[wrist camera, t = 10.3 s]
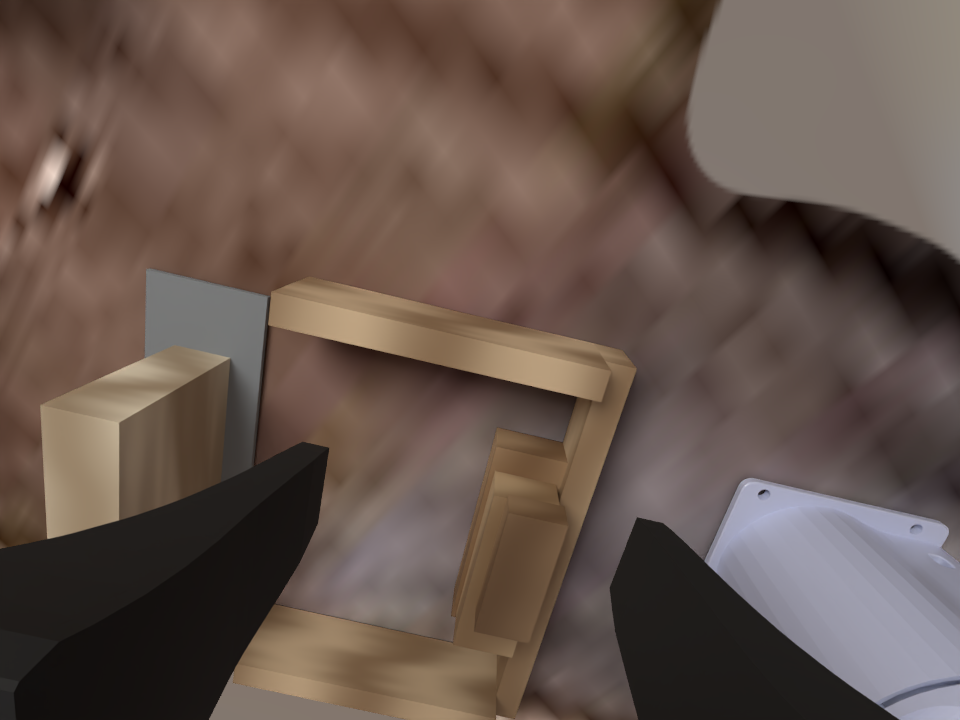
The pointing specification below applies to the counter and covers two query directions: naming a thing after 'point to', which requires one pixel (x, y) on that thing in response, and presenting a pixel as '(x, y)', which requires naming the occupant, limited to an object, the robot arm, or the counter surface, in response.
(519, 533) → the offcuts
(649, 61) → the counter surface
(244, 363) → the mat
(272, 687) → the rack
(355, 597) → the counter surface
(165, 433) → the wooden block
